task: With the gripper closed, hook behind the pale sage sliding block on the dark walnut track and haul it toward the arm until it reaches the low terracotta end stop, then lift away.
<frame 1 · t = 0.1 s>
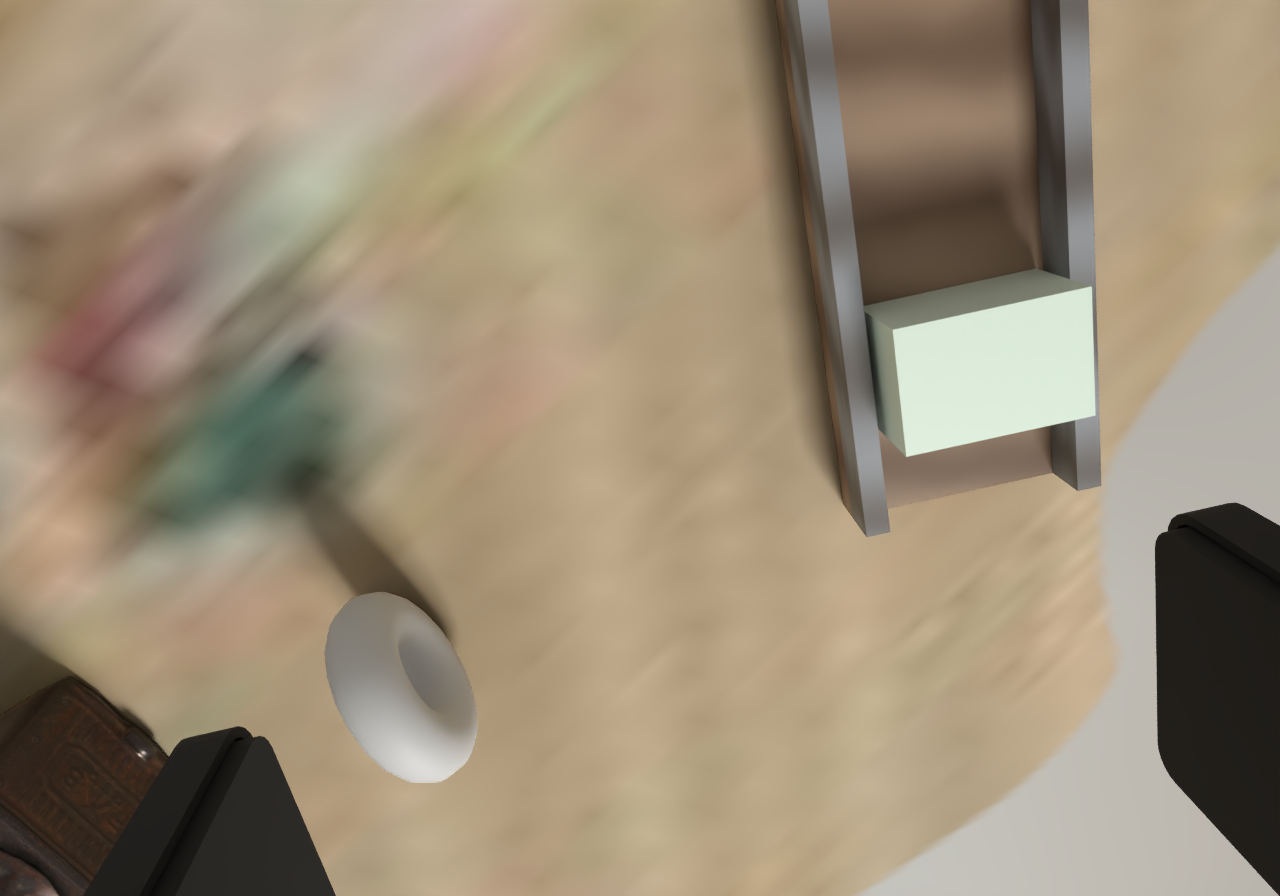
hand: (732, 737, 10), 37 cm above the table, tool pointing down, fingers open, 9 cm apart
donut: (420, 629, 50), on the table
track: (925, 180, 44), on the table
sliding block: (973, 359, 43), point 4 cm above the table, slide at 8.0 cm
brown coffee grinder: (44, 744, 51), on the table
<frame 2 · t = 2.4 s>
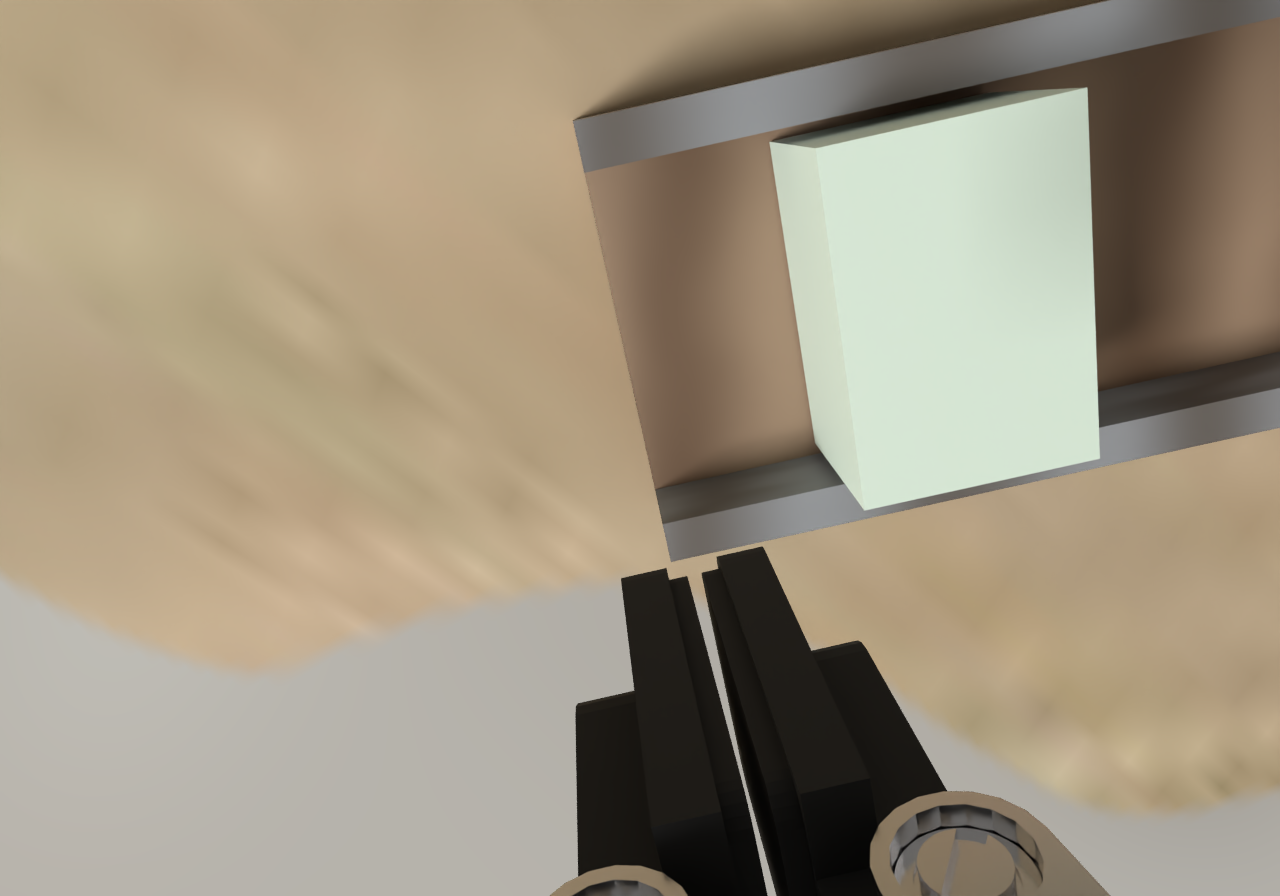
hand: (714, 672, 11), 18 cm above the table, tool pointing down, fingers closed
track: (1140, 211, 27), on the table
sliding block: (928, 294, 24), point 4 cm above the table, slide at 8.0 cm
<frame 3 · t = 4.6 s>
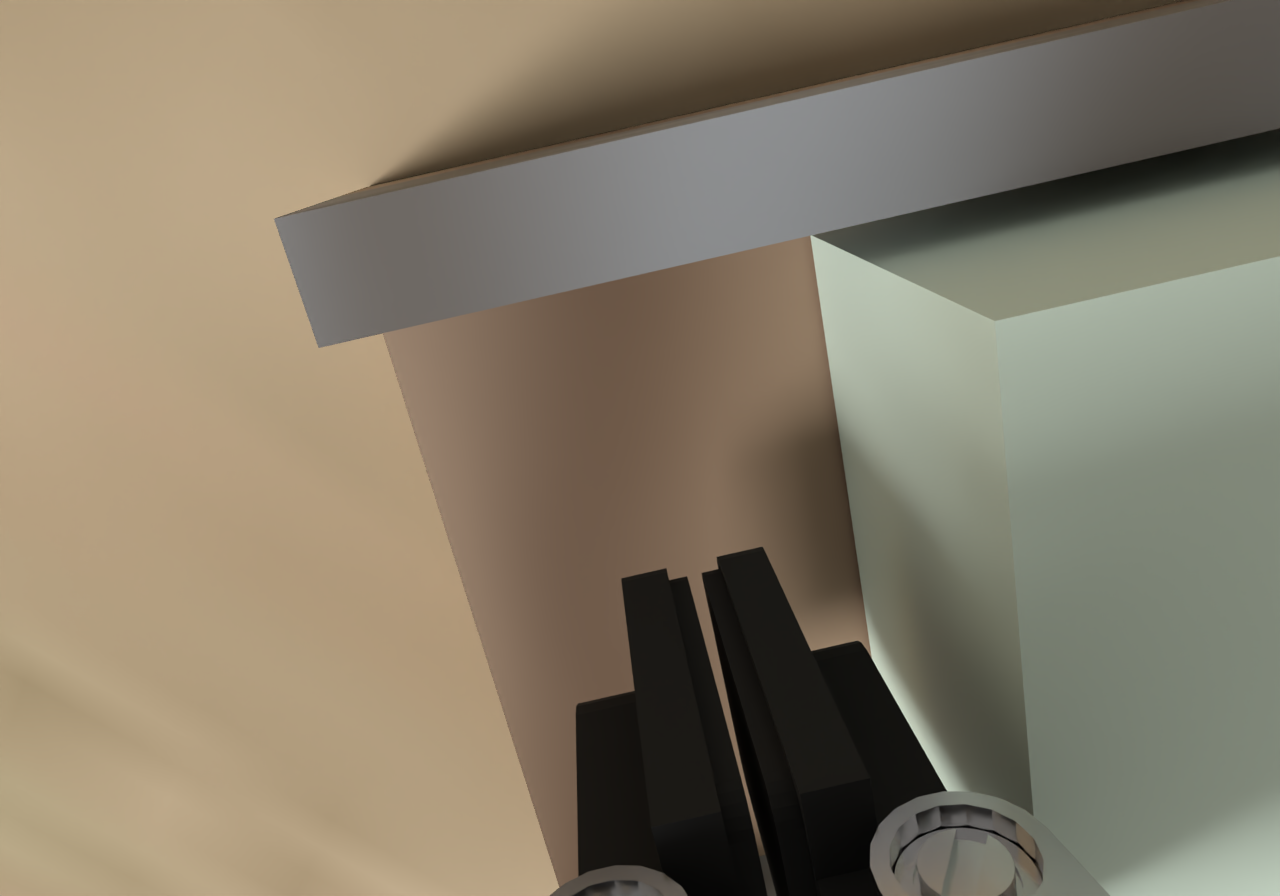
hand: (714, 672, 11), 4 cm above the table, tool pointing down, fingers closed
sliding block: (1190, 598, 10), point 4 cm above the table, slide at 7.7 cm, touching gripper
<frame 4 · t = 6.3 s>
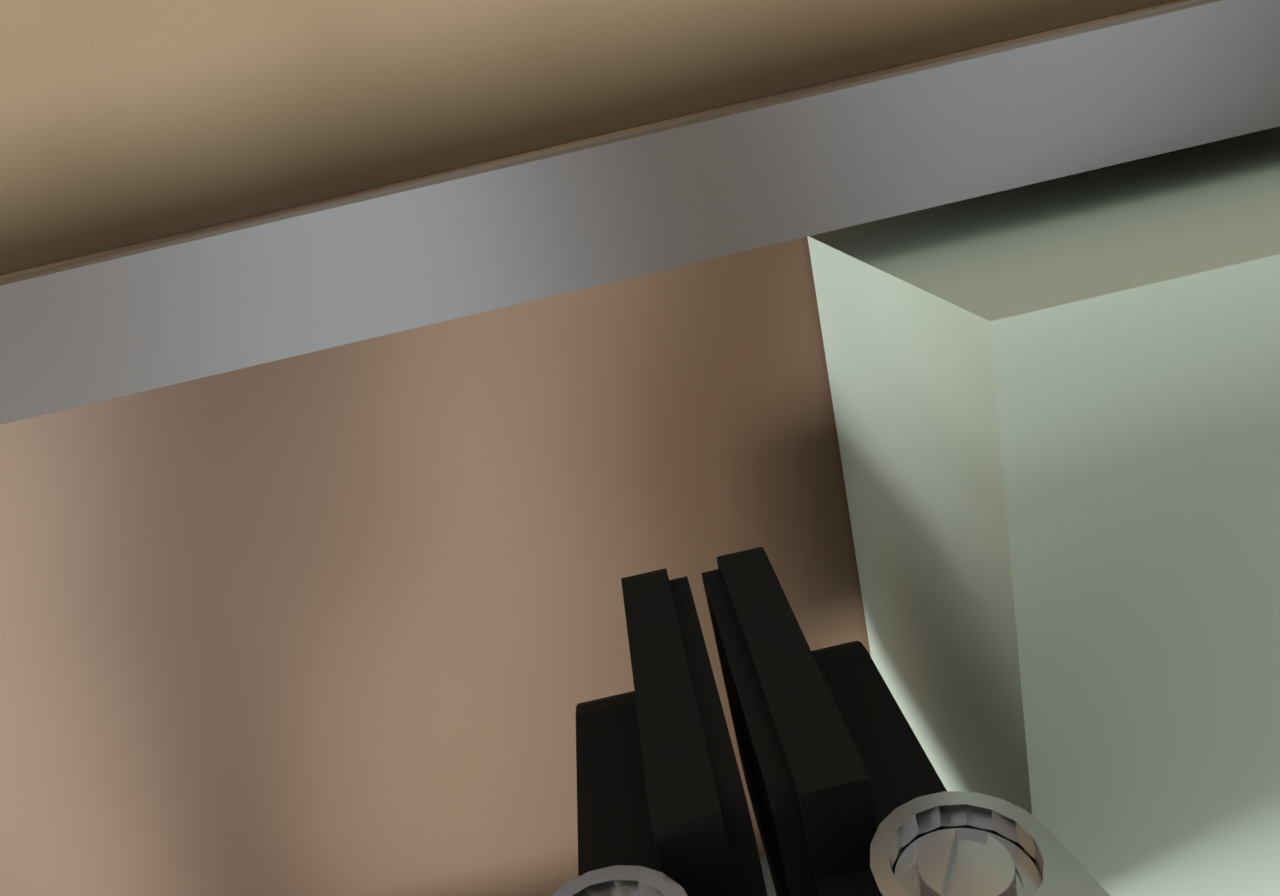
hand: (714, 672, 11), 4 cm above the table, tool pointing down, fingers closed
track: (766, 524, 14), on the table
sliding block: (1188, 597, 10), point 4 cm above the table, slide at -3.9 cm, touching gripper
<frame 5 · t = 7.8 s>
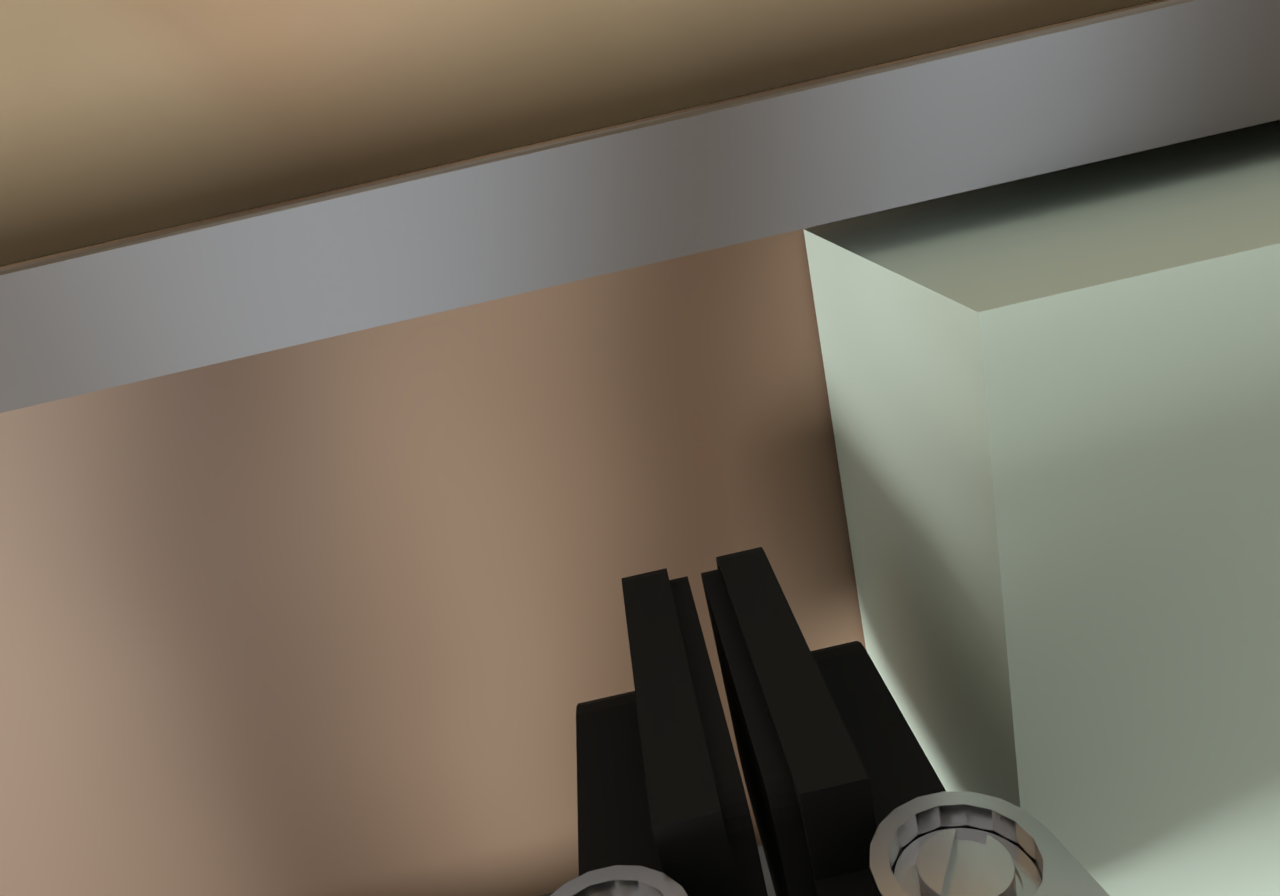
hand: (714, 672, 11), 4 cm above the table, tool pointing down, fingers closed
track: (326, 616, 14), on the table
sliding block: (1179, 588, 10), point 4 cm above the table, slide at -10.8 cm, touching gripper
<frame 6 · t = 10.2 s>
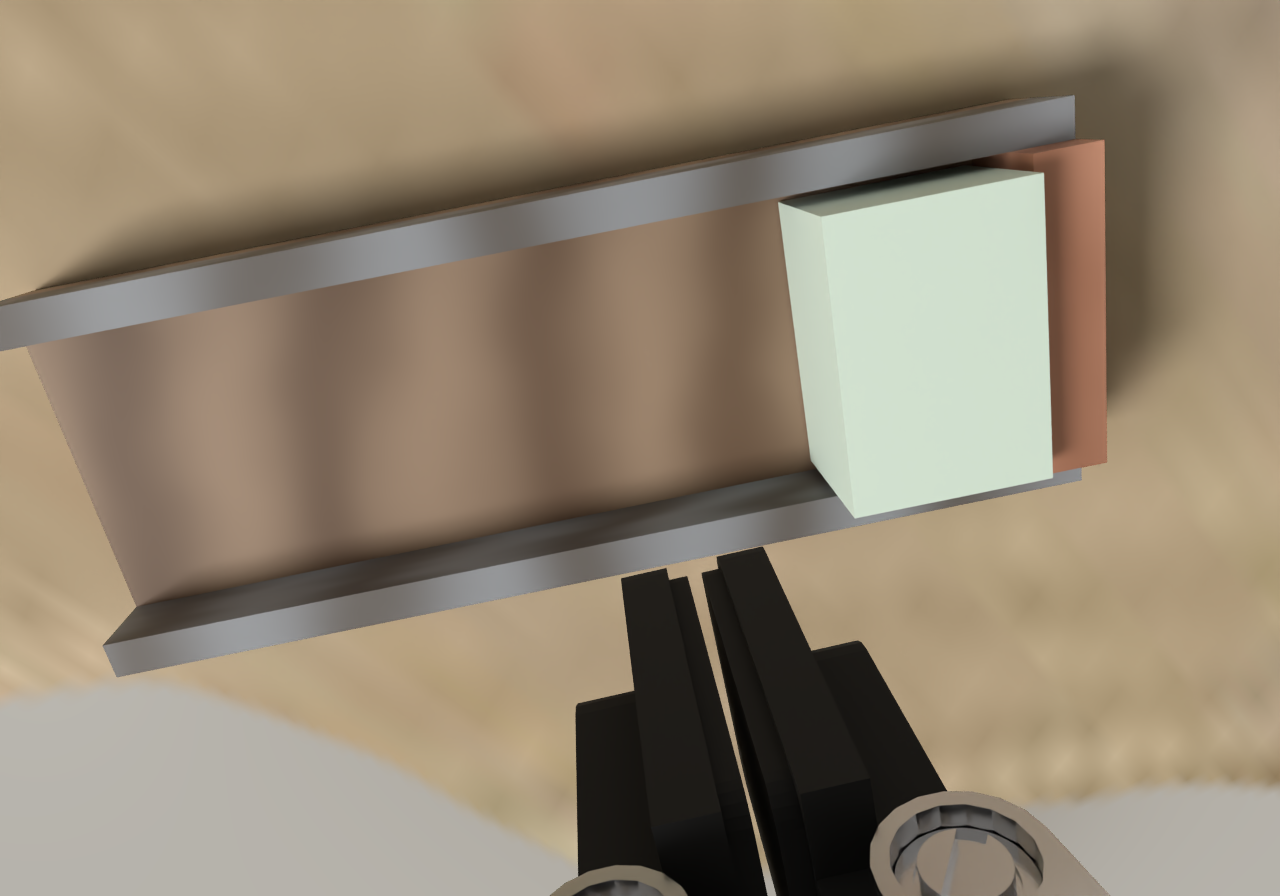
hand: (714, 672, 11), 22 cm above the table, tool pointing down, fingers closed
track: (564, 371, 32), on the table
sliding block: (911, 336, 28), point 4 cm above the table, slide at -10.7 cm
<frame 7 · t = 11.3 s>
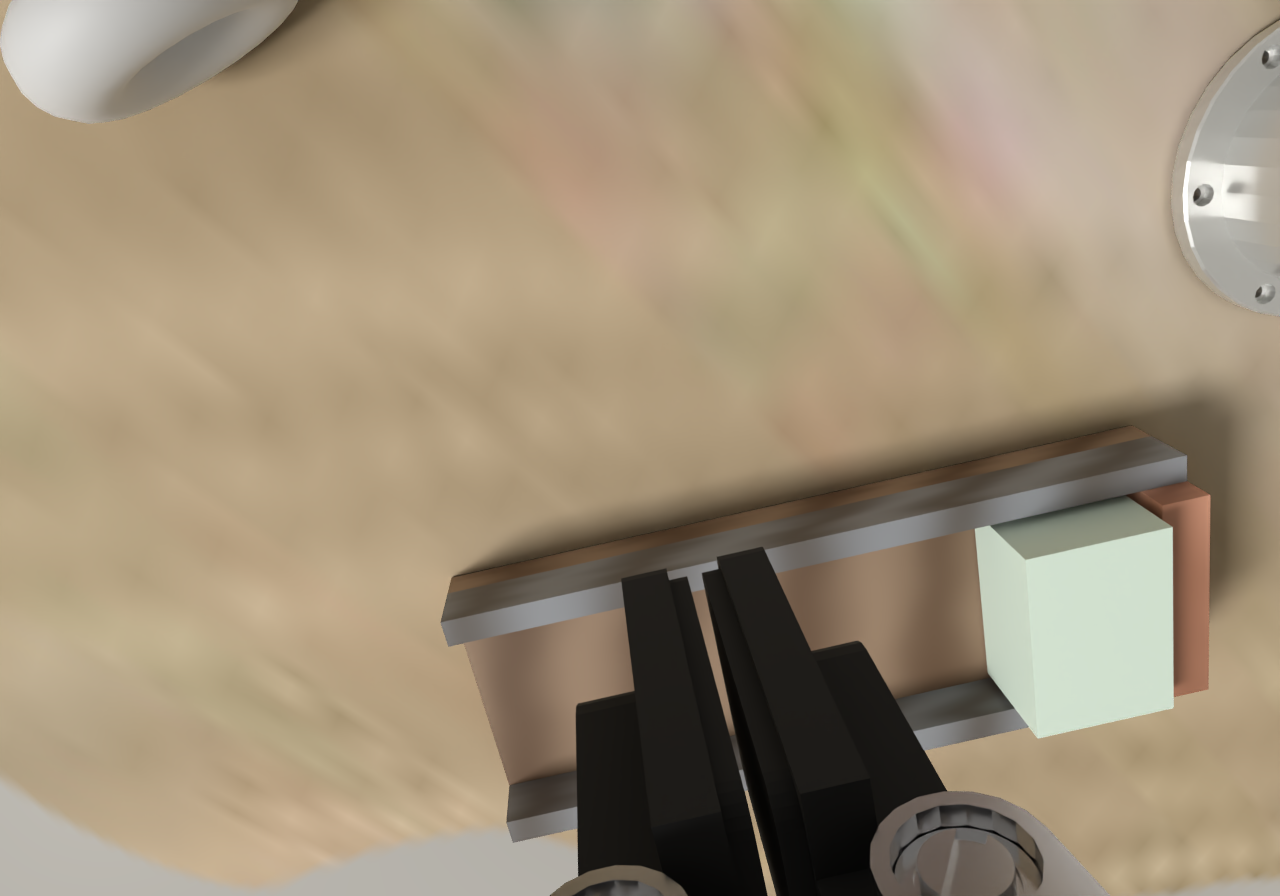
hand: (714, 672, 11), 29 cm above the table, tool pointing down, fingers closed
donut: (221, 25, 34), on the table
track: (810, 613, 44), on the table
sliding block: (1071, 606, 40), point 4 cm above the table, slide at -10.7 cm
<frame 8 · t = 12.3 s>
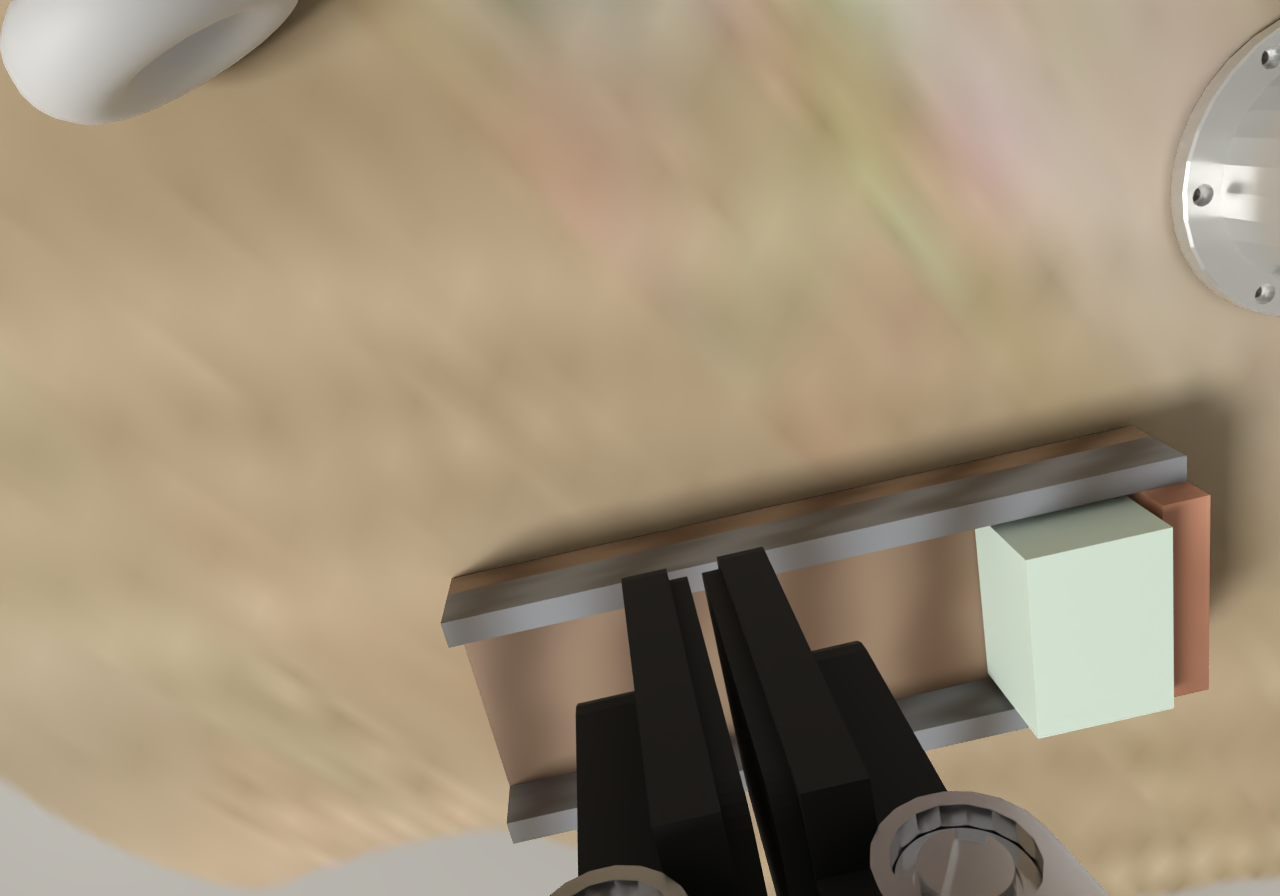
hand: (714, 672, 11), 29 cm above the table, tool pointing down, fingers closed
donut: (220, 27, 34), on the table
track: (810, 613, 44), on the table
sliding block: (1071, 607, 40), point 4 cm above the table, slide at -10.7 cm
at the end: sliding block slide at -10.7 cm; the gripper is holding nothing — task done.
